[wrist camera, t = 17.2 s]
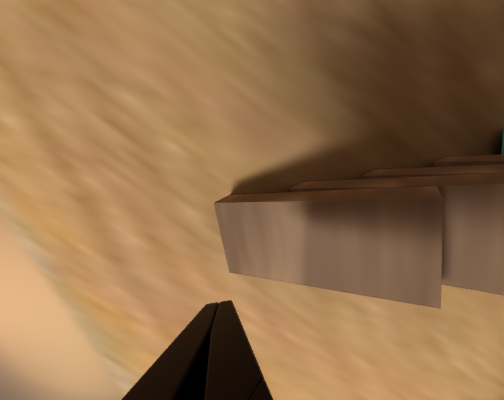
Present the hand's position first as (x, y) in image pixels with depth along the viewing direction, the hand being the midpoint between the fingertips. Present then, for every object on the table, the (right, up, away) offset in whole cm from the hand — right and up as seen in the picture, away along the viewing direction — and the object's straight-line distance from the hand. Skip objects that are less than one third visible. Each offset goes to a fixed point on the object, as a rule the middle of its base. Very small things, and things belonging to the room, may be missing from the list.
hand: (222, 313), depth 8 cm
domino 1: (0, +2, +7) cm, 7 cm away
